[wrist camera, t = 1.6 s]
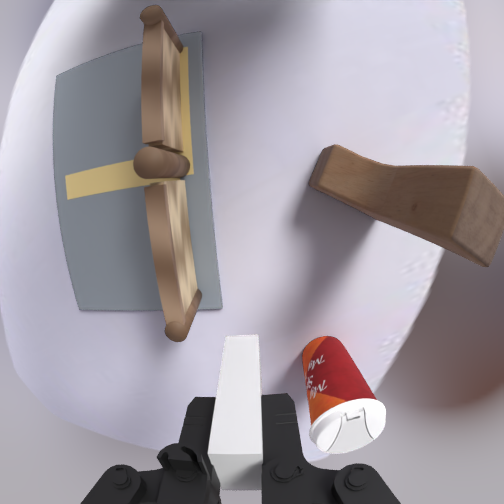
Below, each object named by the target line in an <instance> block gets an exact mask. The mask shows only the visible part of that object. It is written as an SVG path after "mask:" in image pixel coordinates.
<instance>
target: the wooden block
mask: <svg viewBox="0 0 504 504" xmlns="http://www.w3.org/2000/svg"><path fill="white" fill-rule="evenodd" d="M309 186H310V187H312V188H314V189H316V190H318V191H320V192H322V193H325V194H327V195H329V196H331V197H333V198H335V199H337V200H339V201H341V202H343V203H345V204H347V205H349V206H351V207H353V208H355V209H357V210H359V211H361V212H363V213H365V214H366V215H368V216H370V217H372V218H374V219H376V220H379V221H381V222H384V223H386V224H389V225H391V226H394V227H396V228H399V229H401V230H403V231H406V232H408V233H411V234H413V235H415V236H418V237H420V238H422V239H425V240H427V241H429V242H432V243H434V244H436V245H438V246H440V247H443V248H445V249H447V250H449V251H451V252H453V253H456V254H458V255H460V256H462V257H464V258H466V259H468V260H470V261H472V262H474V263H476V264H478V265H480V266H482V267H489V265H490V264H491V262H492V259H493V257H494V255H495V252H496V249H497V247H498V244H499V241H500V238H501V236H502V233H503V230H504V195H503V194H502V193H501V192H500V191H499V190H498V189H497V188H496V186H495V185H494V184H493V183H492V182H491V181H490V180H489V179H488V178H487V177H486V176H485V175H484V174H483V173H482V172H481V171H480V170H479V169H478V168H476V167H474V166H449V165H410V166H393V165H387V164H382V163H379V162H376V161H374V160H371V159H368V158H365V157H362V156H360V155H358V154H356V153H354V152H352V151H350V150H348V149H346V148H344V147H342V146H340V145H335V144H334V145H332V146H329V147H326V148H324V149H323V150H322V152H321V155H320V157H319V159H318V162H317V164H316V166H315V169H314V171H313V173H312V176H311V178H310V180H309Z"/></svg>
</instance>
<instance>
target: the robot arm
mask: <svg viewBox="0 0 504 504" xmlns="http://www.w3.org/2000/svg"><path fill="white" fill-rule="evenodd" d="M185 416H186V417H185V419H184V423H183V427H182V431H181V435H180V439H179V443H175V444H171V445H169V446H166V447H165V448H163V449H162V450H161V451H160V452H159V454H158V456H157V459H158V460H159V462H160V463H161V465H162V467H163V468H161V469H157V470H151V471H141V472H137V471H136V470H135V469H134V468H132V467H131V466H127V465H115V466H112V467H110V468H109V469H108V470H107V471H106V472H105V473H104V474H103V475H102V477H101V478H100V479H99V480H98V482H97V483H96V484H95V486H94V487H93V488H92V489H91V491H90V492H89V493H88V495H87V496H86V497H85V499H84V500H83V501H82V502H81V504H221V499H220V496H219V494H220V486H221V489H222V490H262V504H401V503H400V502H399V501H398V499H397V498H396V497H395V496H394V494H393V493H392V492H391V490H390V489H389V487H388V486H387V485H386V484H385V482H384V481H383V479H382V478H381V477H380V475H379V474H378V472H377V471H376V470H375V469H374V468H372V467H371V466H368V465H366V464H352V465H348V466H346V467H344V468H343V469H341V470H328V469H320V468H317V467H314V466H312V465H311V464H310V463H308V462H307V461H306V459H305V458H304V456H303V453H302V446H301V440H300V434H299V428H298V423H297V416H296V410H295V404H294V401H293V400H292V399H291V397H290V396H289V395H288V394H287V393H285V394H272V395H262V378H261V364H260V350H259V336H258V334H257V335H239V336H226V337H225V343H224V350H223V356H222V362H221V368H220V375H219V381H218V388H217V394H216V397H195V398H194V399H193V400H192V402H191V403H190V404H189V405H188V407H187V411H186V415H185Z"/></svg>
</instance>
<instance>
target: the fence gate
mask: <svg viewBox="0 0 504 504" xmlns="http://www.w3.org/2000/svg"><path fill="white" fill-rule="evenodd" d="M144 193H145V202H146V211H147V219H148V227H149V234H150V241H151V247H152V254H153V260H154V266H155V272H156V277H157V283H158V288H159V293H160V298H161V303H162V307H163V312H164V317H165V321H166V327H165V334H166V336H167V337H168V338H169V339H170V340H172V341H175V342H181V341H184V340H185V339H186V337H187V335H188V332H189V329H190V327H191V324H192V322H193V319H194V317H195V314H196V312H197V309H198V307H199V304H200V302H201V299H202V293H201V291H200V290H199V289H198V287H197V281H196V274H195V266H194V259H193V251H192V243H191V235H190V226H189V217H188V207H187V197H186V187H185V180H176V181H162V182H155V183H150V186H149V187H144Z"/></svg>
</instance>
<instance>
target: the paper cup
mask: <svg viewBox="0 0 504 504" xmlns="http://www.w3.org/2000/svg"><path fill="white" fill-rule="evenodd" d="M302 360H303V369H304V376H305V383H306V390H307V397H308V404H309V412H310V419H311V428H310V431H309V436H310V439H311V440H312V442H313V443H315V444H316V446H317V447H318V448H319V449H320V450H321V451H323V452H326V453H333V454H341V453H346V452H350V451H354V450H357V449H359V448H361V447H363V446H365V445H367V444H368V443H370V442H371V441H373V440H374V439H376V438H377V437H378V436H379V435H380V433H381V432H382V430H383V429H384V426H385V414H386V409H385V407H384V405H383V404H382V403H381V402H379V401H377V399H376V398H375V396H374V394H373V393H372V391H371V389H370V388H369V386H368V384H367V383H366V381H365V379H364V378H363V376H362V374H361V373H360V371H359V369H358V368H357V366H356V364H355V363H354V361H353V360H352V358H351V356H350V355H349V353H348V352H347V350H346V349H345V347H344V346H343V344H342V343H341V342H340V341H339V340H338V339H337V338H335V337H331V336H323V337H319V338H316V339H314V340H313V341H311V342H310V343H309V344H308V345H307V346H306V347H305V349H304V351H303V355H302Z"/></svg>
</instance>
